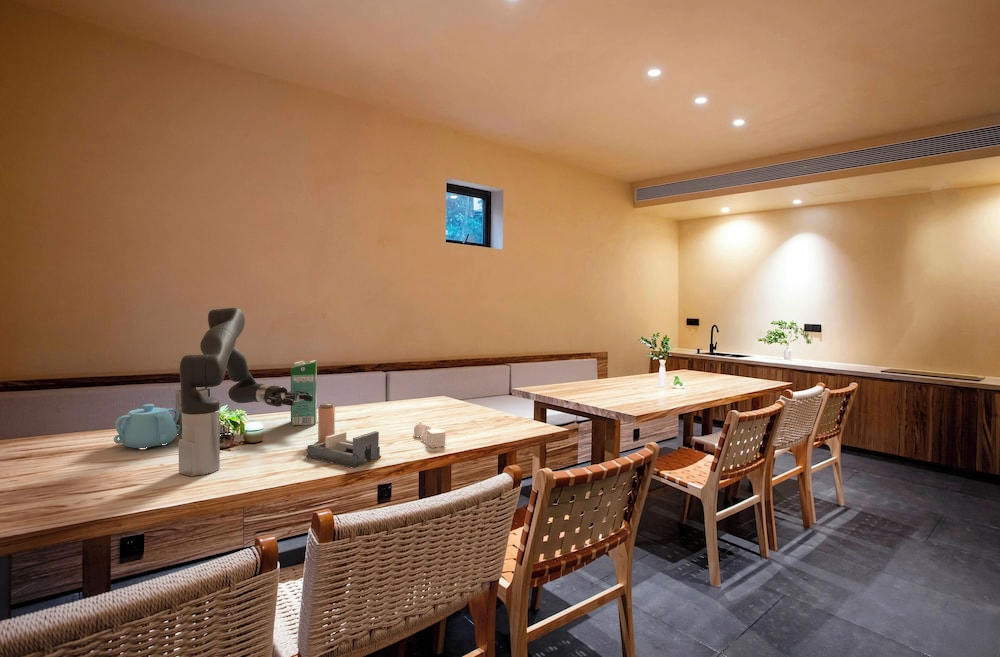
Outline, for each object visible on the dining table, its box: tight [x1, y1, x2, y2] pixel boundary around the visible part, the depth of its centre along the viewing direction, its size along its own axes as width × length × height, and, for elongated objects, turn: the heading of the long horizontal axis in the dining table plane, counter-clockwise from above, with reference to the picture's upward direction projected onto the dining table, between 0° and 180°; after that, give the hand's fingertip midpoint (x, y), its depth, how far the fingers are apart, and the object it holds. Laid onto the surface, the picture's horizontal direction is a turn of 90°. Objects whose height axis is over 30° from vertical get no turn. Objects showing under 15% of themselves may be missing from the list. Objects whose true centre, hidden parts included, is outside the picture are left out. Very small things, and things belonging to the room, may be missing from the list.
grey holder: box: [305, 430, 382, 469], centre depth 158 cm, size 12×20×8 cm, turn 63°
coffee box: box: [174, 387, 211, 436], centre depth 181 cm, size 9×6×16 cm
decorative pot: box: [113, 403, 180, 449], centre depth 166 cm, size 16×16×14 cm
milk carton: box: [290, 359, 318, 427], centre depth 200 cm, size 9×9×25 cm
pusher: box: [325, 431, 366, 452], centre depth 157 cm, size 7×12×6 cm, turn 63°
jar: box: [317, 402, 336, 444], centre depth 175 cm, size 5×5×13 cm
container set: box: [413, 421, 446, 449], centre depth 180 cm, size 20×5×6 cm, turn 30°
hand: (302, 400), depth 180 cm, fingers open, 8 cm apart
